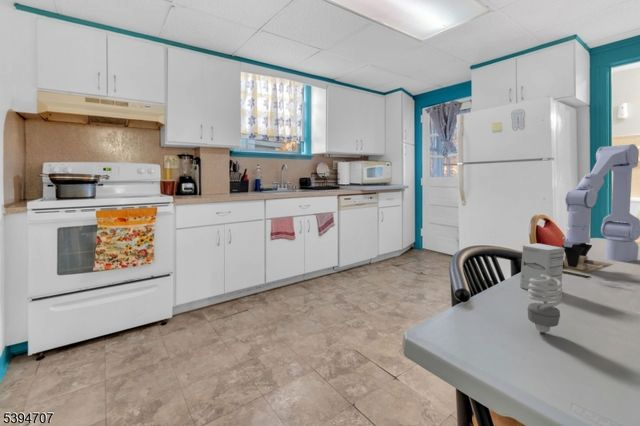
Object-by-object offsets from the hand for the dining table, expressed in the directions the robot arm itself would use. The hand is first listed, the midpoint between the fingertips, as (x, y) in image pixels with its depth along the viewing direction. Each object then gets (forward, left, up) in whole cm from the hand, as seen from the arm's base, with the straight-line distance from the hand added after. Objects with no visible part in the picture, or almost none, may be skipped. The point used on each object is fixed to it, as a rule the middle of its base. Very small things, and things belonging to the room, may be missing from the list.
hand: (575, 265), depth 108 cm
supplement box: (+28, +10, -2) cm, 29 cm away
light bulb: (+52, +30, -2) cm, 60 cm away
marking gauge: (0, 0, -1) cm, 1 cm away
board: (-6, -1, -2) cm, 6 cm away
